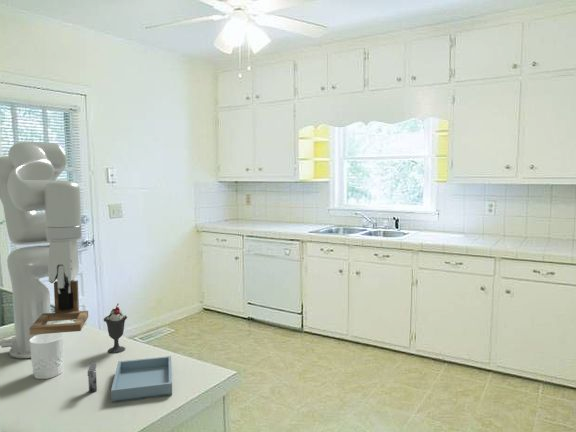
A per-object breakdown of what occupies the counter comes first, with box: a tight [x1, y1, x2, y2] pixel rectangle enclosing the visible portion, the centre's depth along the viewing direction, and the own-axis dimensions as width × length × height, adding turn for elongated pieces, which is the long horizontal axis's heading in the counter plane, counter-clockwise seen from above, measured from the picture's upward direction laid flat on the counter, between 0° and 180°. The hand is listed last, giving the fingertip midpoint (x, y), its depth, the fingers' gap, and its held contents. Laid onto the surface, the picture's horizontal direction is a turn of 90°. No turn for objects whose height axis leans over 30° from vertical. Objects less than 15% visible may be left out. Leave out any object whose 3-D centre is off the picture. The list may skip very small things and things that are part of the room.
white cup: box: [29, 333, 64, 380], centre depth 116 cm, size 8×8×10 cm
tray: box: [110, 355, 173, 403], centre depth 111 cm, size 14×16×3 cm
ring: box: [30, 280, 89, 335], centre depth 100 cm, size 12×10×8 cm
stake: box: [87, 361, 98, 394], centre depth 107 cm, size 2×5×6 cm, turn 16°
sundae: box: [103, 303, 128, 354], centre depth 131 cm, size 7×7×15 cm
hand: (67, 307), depth 106 cm, fingers closed on ring, 1 cm apart
